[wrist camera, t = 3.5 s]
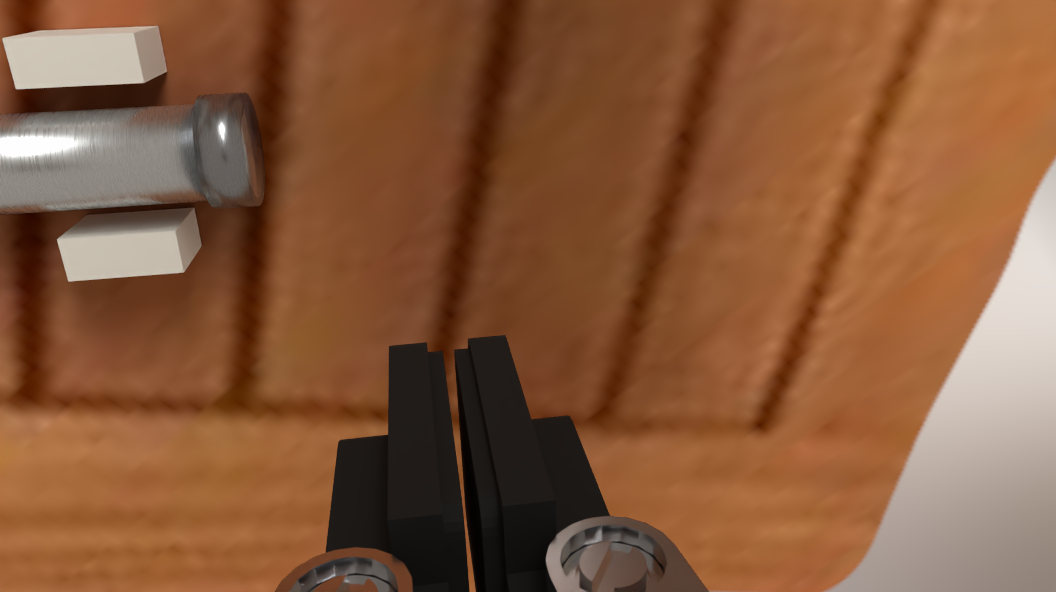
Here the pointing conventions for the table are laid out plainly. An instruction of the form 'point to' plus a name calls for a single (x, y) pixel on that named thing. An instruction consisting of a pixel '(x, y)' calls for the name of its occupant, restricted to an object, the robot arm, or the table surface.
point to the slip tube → (133, 156)
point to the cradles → (112, 237)
